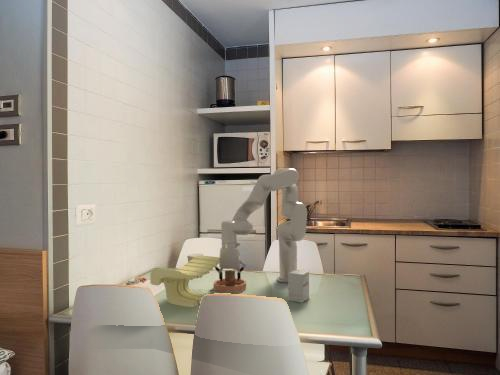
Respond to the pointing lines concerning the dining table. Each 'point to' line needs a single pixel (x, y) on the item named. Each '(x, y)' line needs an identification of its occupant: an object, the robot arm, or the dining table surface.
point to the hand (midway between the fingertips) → (229, 280)
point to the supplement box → (298, 286)
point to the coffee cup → (193, 256)
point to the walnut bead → (230, 278)
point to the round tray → (239, 286)
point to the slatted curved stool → (183, 280)
